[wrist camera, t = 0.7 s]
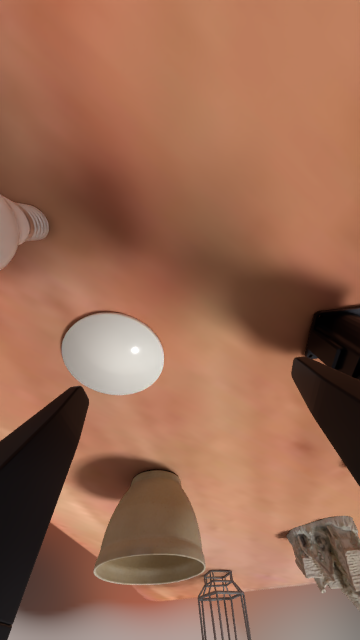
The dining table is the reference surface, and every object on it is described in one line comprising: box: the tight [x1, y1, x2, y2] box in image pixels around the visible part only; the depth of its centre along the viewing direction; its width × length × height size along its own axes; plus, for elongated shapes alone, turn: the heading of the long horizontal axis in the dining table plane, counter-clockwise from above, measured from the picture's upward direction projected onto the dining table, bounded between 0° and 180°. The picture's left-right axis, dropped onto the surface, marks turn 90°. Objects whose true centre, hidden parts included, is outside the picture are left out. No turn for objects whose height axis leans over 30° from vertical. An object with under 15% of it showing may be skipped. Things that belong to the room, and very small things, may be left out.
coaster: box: [62, 312, 164, 395], centre depth 23 cm, size 12×12×1 cm
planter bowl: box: [94, 470, 205, 585], centre depth 32 cm, size 16×16×11 cm
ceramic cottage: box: [287, 516, 360, 611], centre depth 45 cm, size 16×16×15 cm
